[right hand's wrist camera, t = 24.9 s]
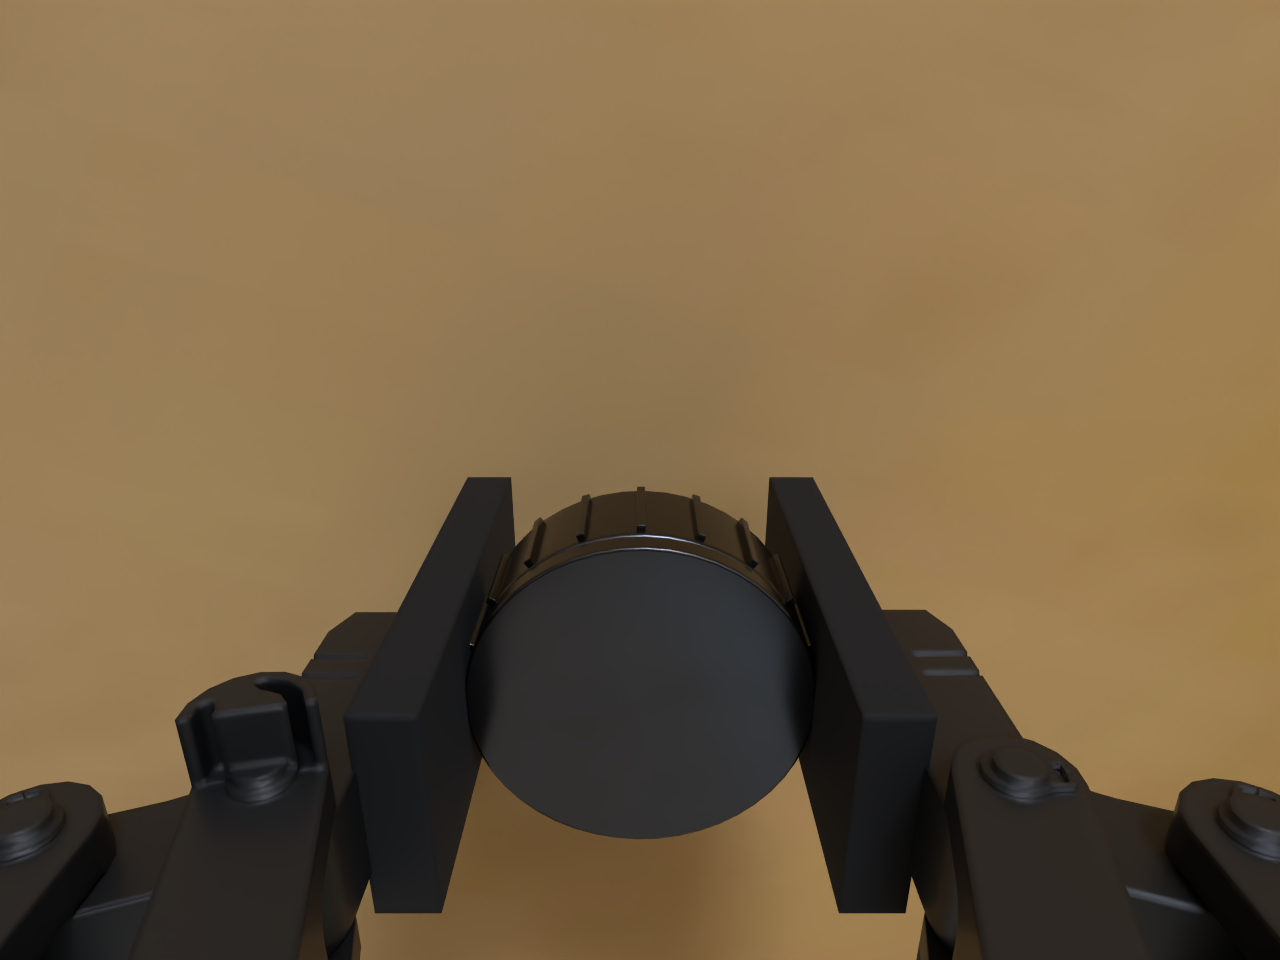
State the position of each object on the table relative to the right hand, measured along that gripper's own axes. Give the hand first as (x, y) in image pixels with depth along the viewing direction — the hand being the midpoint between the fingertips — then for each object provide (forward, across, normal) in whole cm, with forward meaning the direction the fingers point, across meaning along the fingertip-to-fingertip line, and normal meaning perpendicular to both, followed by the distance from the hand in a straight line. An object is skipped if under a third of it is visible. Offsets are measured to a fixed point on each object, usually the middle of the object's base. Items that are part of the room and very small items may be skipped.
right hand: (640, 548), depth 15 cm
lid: (-4, 0, 0) cm, 4 cm away
